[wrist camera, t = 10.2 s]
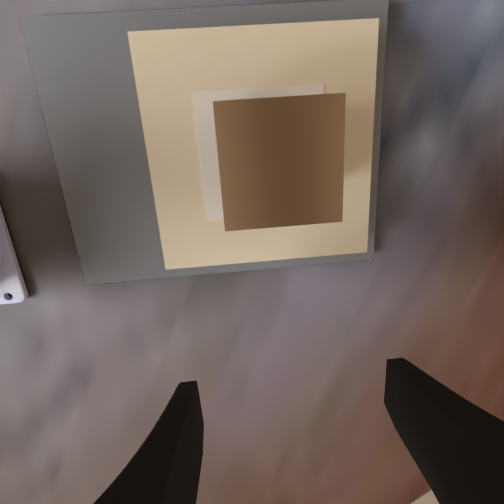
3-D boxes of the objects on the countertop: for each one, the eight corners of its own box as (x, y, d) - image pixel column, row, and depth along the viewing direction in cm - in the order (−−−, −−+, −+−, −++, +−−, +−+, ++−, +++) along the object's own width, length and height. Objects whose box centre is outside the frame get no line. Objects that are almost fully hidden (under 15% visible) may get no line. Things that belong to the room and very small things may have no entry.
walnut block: (225, 199, 17) (225, 231, 11) (217, 113, 16) (212, 101, 10) (304, 193, 17) (342, 221, 11) (302, 107, 16) (345, 92, 10)
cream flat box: (91, 278, 22) (66, 305, 18) (30, 23, 17) (-19, -5, 14) (367, 254, 22) (392, 275, 19) (380, 5, 18) (416, -26, 14)
